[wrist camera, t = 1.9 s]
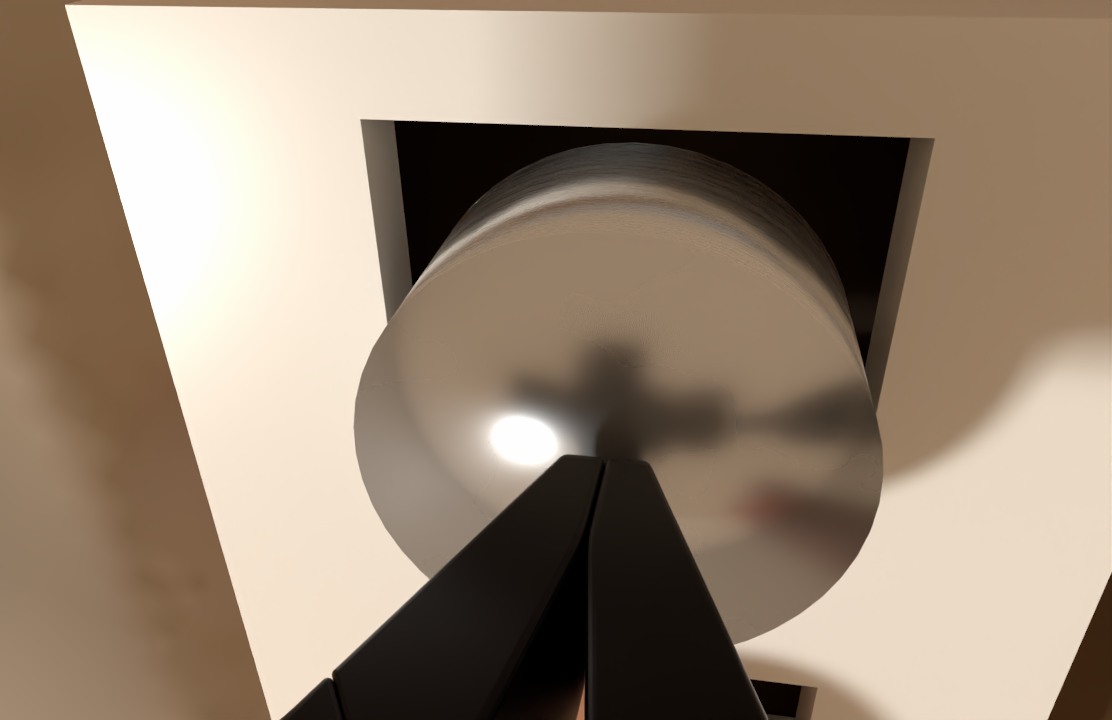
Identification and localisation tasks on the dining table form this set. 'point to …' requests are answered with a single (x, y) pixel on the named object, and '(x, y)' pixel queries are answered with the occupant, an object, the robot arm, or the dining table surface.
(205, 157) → the button console
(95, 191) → the dining table surface
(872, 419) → the steel button
